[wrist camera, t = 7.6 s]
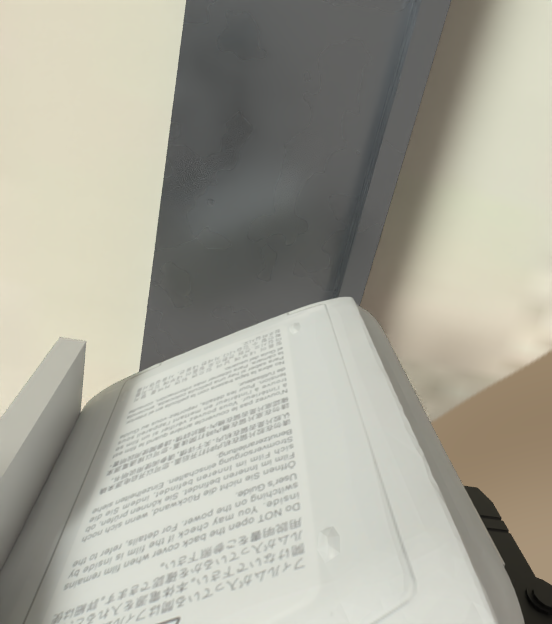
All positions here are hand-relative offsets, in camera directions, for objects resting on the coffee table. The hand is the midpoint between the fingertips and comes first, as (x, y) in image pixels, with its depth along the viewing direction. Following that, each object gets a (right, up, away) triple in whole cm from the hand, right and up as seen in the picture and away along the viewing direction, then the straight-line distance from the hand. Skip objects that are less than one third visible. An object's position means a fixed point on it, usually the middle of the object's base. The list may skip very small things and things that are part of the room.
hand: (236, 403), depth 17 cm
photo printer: (0, +1, +1) cm, 1 cm away
